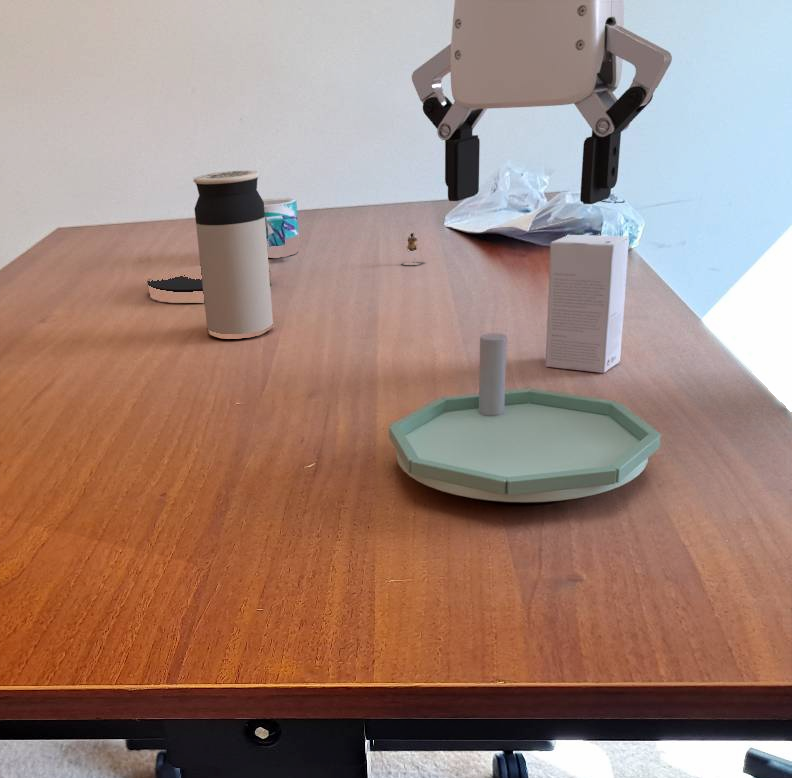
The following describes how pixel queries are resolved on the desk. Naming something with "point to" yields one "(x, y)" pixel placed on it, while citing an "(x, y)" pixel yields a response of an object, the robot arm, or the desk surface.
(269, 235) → the mug
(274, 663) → the desk surface
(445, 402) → the tray
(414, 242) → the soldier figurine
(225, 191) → the travel mug
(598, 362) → the cosmetic box
